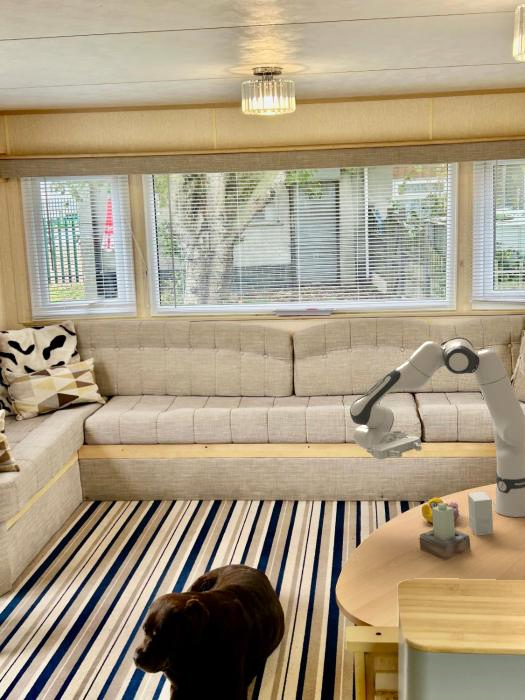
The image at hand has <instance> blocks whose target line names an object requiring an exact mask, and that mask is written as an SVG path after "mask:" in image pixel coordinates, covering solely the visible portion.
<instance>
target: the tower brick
mask: <svg viewBox="0 0 525 700" xmlns="http://www.w3.org/2000/svg"><path fill="white" fill-rule="evenodd" d="M447 504H448V503H447ZM447 504H446V503H445V502H443V503H439V504H438V506H437V507H434V508H432V514H433V523H432V530H433V531H434V537H435V538H437V539H439V540H442V541H447V540H449V539H452V538H454V537H455V530H456V529H455V520H454V513H453V508H451V507H449V506H447ZM454 529H455V530H454Z"/></svg>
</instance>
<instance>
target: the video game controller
mask: <svg viewBox="0 0 525 700" xmlns="http://www.w3.org/2000/svg"><path fill="white" fill-rule="evenodd" d="M448 506H449V507H451V508H453V513H454V521H455V520H456V519H457V518H458V517H459V516H460V513H459V512H460V510H459V505H458V503H457V502H453V501H451V502H449V504H448Z"/></svg>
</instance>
